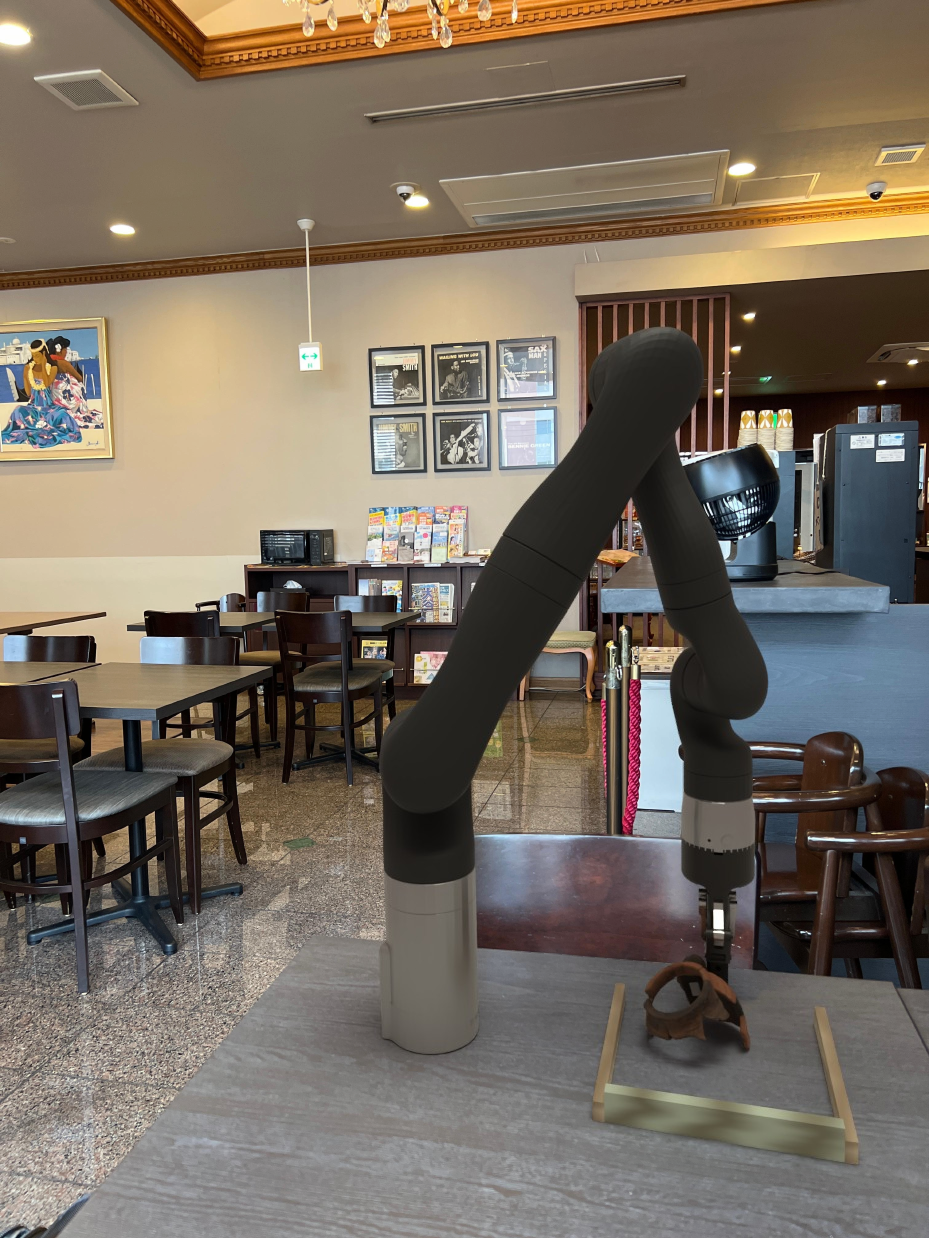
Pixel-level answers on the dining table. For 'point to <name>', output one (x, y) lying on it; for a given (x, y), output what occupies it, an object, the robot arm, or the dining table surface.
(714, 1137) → the bay
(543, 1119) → the dining table surface
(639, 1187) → the dining table surface
